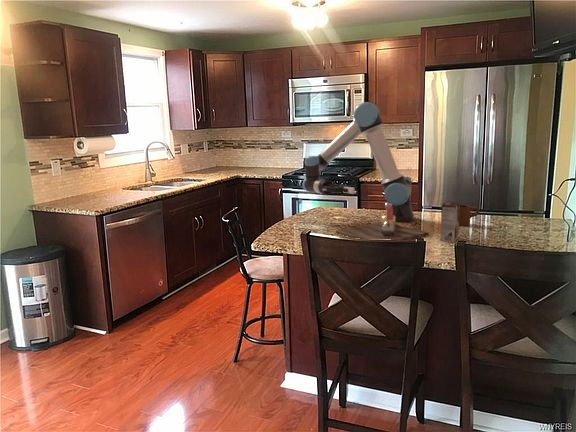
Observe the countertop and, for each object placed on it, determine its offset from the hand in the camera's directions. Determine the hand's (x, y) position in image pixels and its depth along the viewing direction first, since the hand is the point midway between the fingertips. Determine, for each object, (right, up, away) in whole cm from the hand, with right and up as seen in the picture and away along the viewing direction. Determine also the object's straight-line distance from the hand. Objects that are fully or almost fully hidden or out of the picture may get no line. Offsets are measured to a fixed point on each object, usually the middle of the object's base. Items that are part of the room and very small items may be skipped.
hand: (353, 190), depth 221 cm
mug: (+59, -17, +12) cm, 62 cm away
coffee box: (+41, -23, -14) cm, 49 cm away
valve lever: (+15, -11, -11) cm, 22 cm away
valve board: (+13, -21, -2) cm, 25 cm away
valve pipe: (+17, -20, 0) cm, 26 cm away
